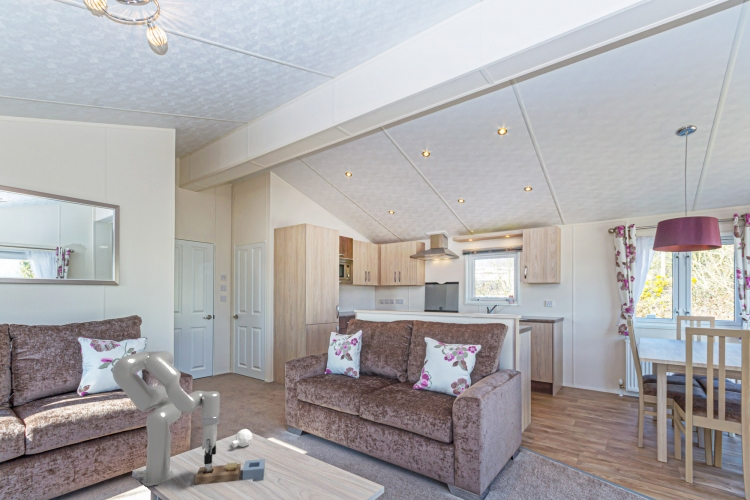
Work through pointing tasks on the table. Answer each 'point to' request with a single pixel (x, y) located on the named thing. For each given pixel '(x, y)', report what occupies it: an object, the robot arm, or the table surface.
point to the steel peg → (208, 468)
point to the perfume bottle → (242, 438)
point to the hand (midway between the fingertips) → (210, 459)
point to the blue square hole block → (254, 470)
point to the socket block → (217, 475)
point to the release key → (231, 466)
